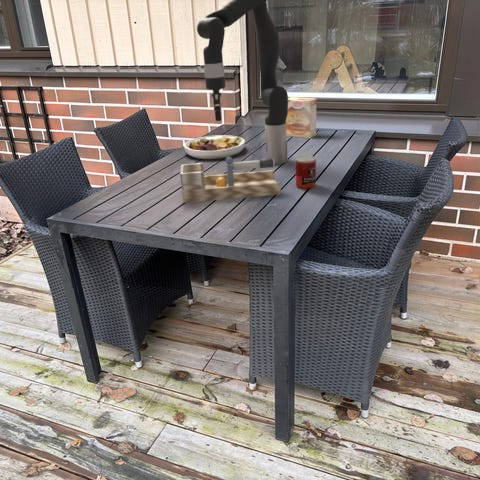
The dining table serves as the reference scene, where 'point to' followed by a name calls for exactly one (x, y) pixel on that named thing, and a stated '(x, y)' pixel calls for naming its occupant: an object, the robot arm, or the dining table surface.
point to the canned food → (305, 172)
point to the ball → (221, 182)
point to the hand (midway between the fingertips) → (218, 118)
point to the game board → (244, 186)
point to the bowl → (214, 146)
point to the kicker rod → (246, 166)
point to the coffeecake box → (301, 117)
